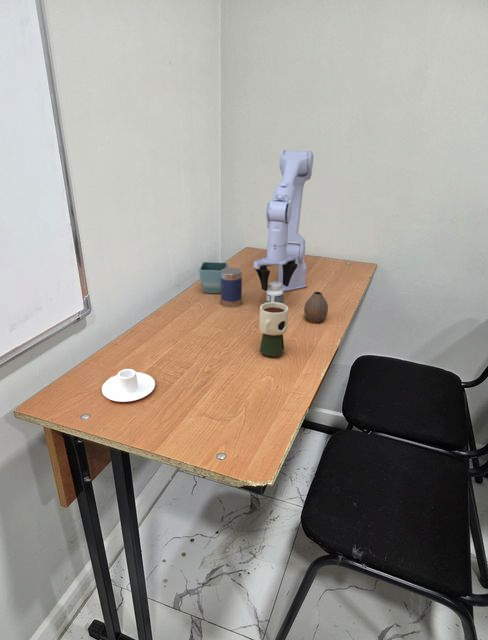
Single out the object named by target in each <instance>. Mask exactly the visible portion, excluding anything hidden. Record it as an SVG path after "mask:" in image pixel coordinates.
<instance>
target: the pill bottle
mask: <svg viewBox="0 0 488 640" xmlns="http://www.w3.org/2000/svg"><path fill="white" fill-rule="evenodd" d="M281 286H282V284H281V282H278V280H271V281H268V289H267V291H265V292H266V293H265V303H268V302H278V303H282V304H284V291H283V290H282V289H281Z"/></svg>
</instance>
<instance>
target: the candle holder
mask: <svg viewBox="0 0 488 640" xmlns="http://www.w3.org/2000/svg"><path fill="white" fill-rule="evenodd" d="M155 387H156V382H155V379H154V378H153V377H152V376H151V375H149V374H147V373H145V372H139V371H136V370H135V369H132V368H123V369H122V370H120V371H118V372H117V374H116V375H114V376H110V377H109V378H108V379H107V380H106V381H105V382H104V383H103V384H102V386H101V393H102V395H103V396H104V397H105V398H106V399H108V400H111V401H114V402H119V403H120V402H121V403H126V402H127V403H128V402H133V401H137V400H140V399H143V398H145V397H147V396H148V395H150V394H151V393H152V392H153V390H155Z"/></svg>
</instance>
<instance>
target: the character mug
mask: <svg viewBox="0 0 488 640" xmlns="http://www.w3.org/2000/svg"><path fill="white" fill-rule="evenodd" d="M288 320H289V307H288V305H286V304H285V303H283V304H282V303H278V302H268V303H266V302H264V303H263V304H260V306H259V321H258V325H259V326H258V327H259V328H258V329H259V332H261V333H262V336H261V341H260V346H259V347H260V348H259V351H260V353H261V354H263V355H266V356H268V357H272V358H277V357H281V356H283V353H284V351H285V344H284V343H285V342H284V334H286V333H287V331H288V327H289V326H288V322H289V321H288Z"/></svg>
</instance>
